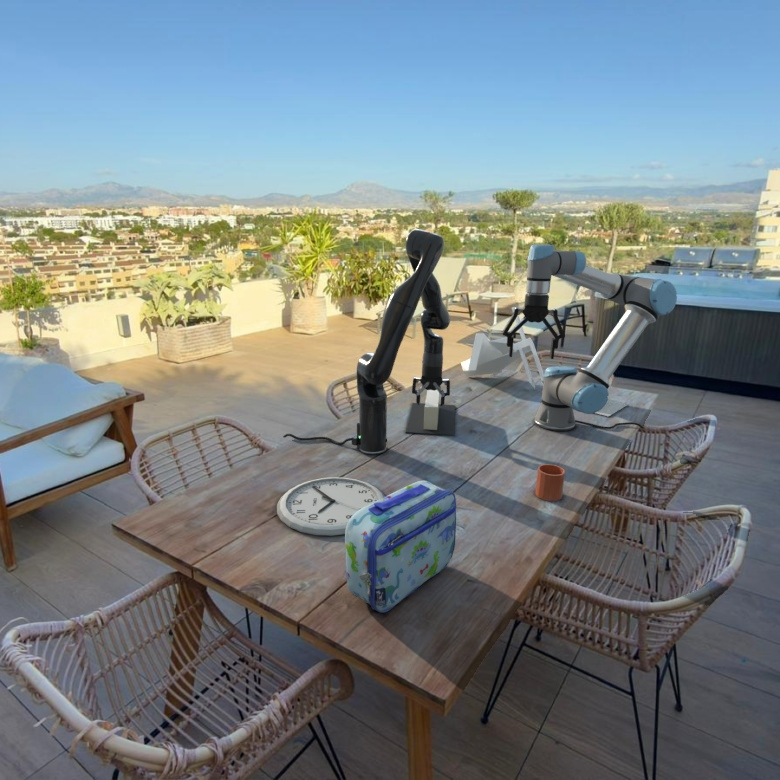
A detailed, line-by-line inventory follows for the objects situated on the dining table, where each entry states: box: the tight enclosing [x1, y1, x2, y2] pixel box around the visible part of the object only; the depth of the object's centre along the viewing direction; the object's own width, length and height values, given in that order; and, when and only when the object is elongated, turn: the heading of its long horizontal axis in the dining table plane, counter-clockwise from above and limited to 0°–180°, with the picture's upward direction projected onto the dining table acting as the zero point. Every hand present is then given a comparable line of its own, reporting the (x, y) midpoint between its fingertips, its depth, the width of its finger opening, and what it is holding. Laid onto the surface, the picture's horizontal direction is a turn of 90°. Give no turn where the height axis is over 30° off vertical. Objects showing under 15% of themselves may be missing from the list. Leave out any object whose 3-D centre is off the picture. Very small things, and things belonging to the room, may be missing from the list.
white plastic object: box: [460, 306, 545, 390], centre depth 260 cm, size 37×45×31 cm
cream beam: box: [424, 389, 441, 430], centre depth 207 cm, size 5×26×9 cm, turn 173°
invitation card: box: [594, 399, 628, 418], centre depth 226 cm, size 21×1×15 cm
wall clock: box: [276, 476, 386, 537], centre depth 143 cm, size 30×2×30 cm
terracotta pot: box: [534, 463, 566, 502], centre depth 149 cm, size 7×7×8 cm
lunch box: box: [344, 480, 457, 614], centre depth 109 cm, size 26×11×21 cm, turn 135°
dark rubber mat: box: [405, 402, 456, 437], centre depth 209 cm, size 18×34×1 cm, turn 173°
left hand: (430, 404), depth 199 cm, fingers open, 8 cm apart
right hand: (530, 357), depth 176 cm, fingers open, 13 cm apart
